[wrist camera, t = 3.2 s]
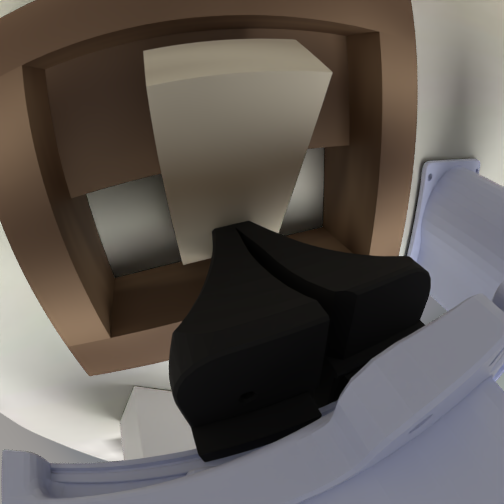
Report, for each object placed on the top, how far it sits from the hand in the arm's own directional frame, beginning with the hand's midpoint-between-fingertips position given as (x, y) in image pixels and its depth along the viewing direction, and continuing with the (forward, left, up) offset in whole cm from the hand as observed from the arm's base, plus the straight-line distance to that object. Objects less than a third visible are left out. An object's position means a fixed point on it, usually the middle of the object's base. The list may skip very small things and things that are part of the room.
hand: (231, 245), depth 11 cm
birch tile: (+4, 0, 0) cm, 4 cm away
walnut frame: (+4, 0, -3) cm, 4 cm away
